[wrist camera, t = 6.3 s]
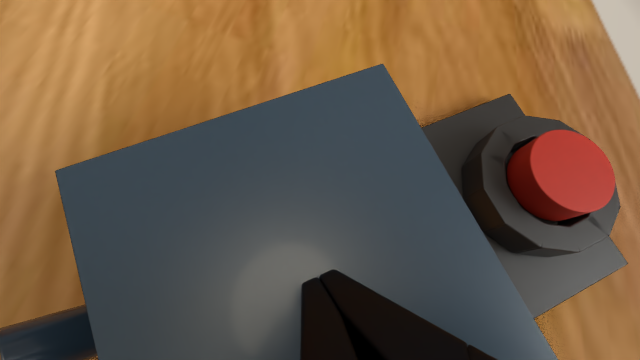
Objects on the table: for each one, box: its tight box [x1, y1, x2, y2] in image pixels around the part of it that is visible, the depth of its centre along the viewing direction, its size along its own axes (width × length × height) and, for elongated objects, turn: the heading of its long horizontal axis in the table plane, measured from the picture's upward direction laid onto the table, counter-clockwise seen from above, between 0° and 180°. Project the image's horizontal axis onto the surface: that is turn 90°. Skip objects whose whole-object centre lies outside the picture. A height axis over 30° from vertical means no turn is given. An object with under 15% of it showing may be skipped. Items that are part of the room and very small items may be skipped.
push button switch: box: [421, 94, 628, 318], centre depth 18 cm, size 11×7×3 cm
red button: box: [507, 130, 615, 221], centre depth 16 cm, size 4×4×2 cm
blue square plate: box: [55, 64, 558, 360], centre depth 10 cm, size 12×12×1 cm
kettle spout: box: [0, 304, 97, 360], centre depth 12 cm, size 2×5×5 cm, turn 114°
